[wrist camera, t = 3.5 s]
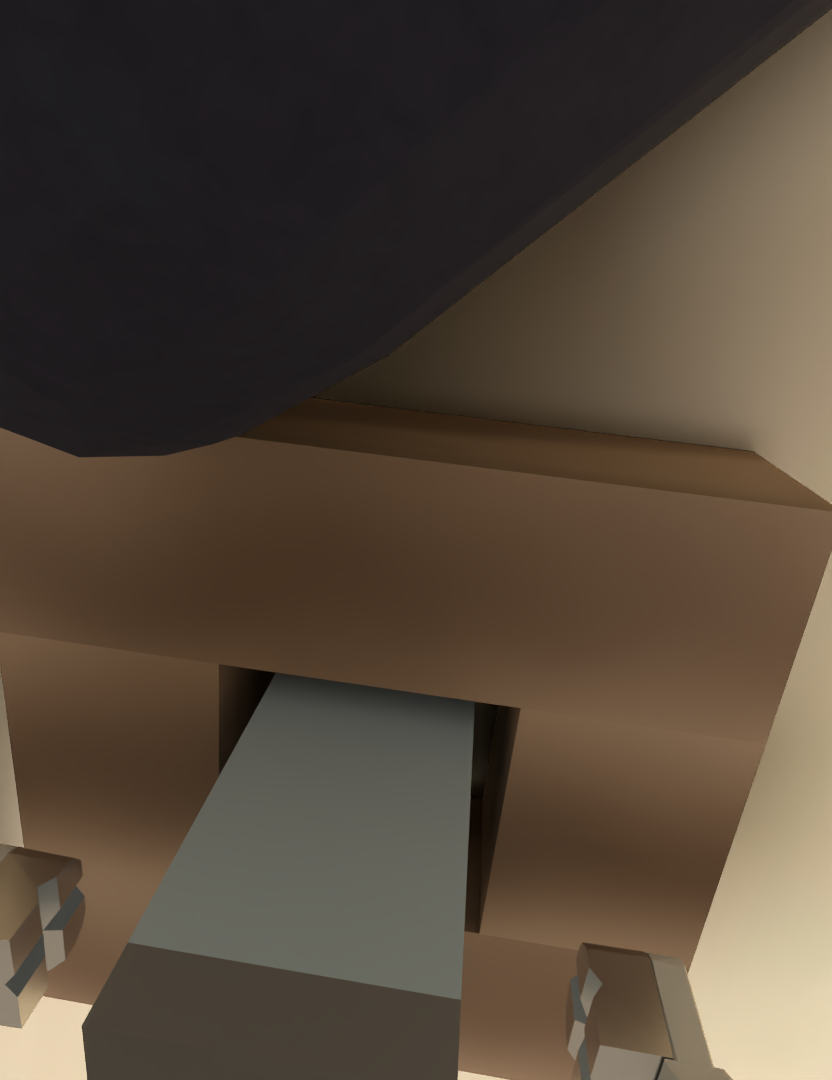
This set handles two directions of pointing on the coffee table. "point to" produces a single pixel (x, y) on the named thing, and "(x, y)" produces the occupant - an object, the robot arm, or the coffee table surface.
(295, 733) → the plug
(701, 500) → the square wooden frame
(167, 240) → the portable speaker
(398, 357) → the coffee table surface
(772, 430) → the coffee table surface
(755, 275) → the coffee table surface
